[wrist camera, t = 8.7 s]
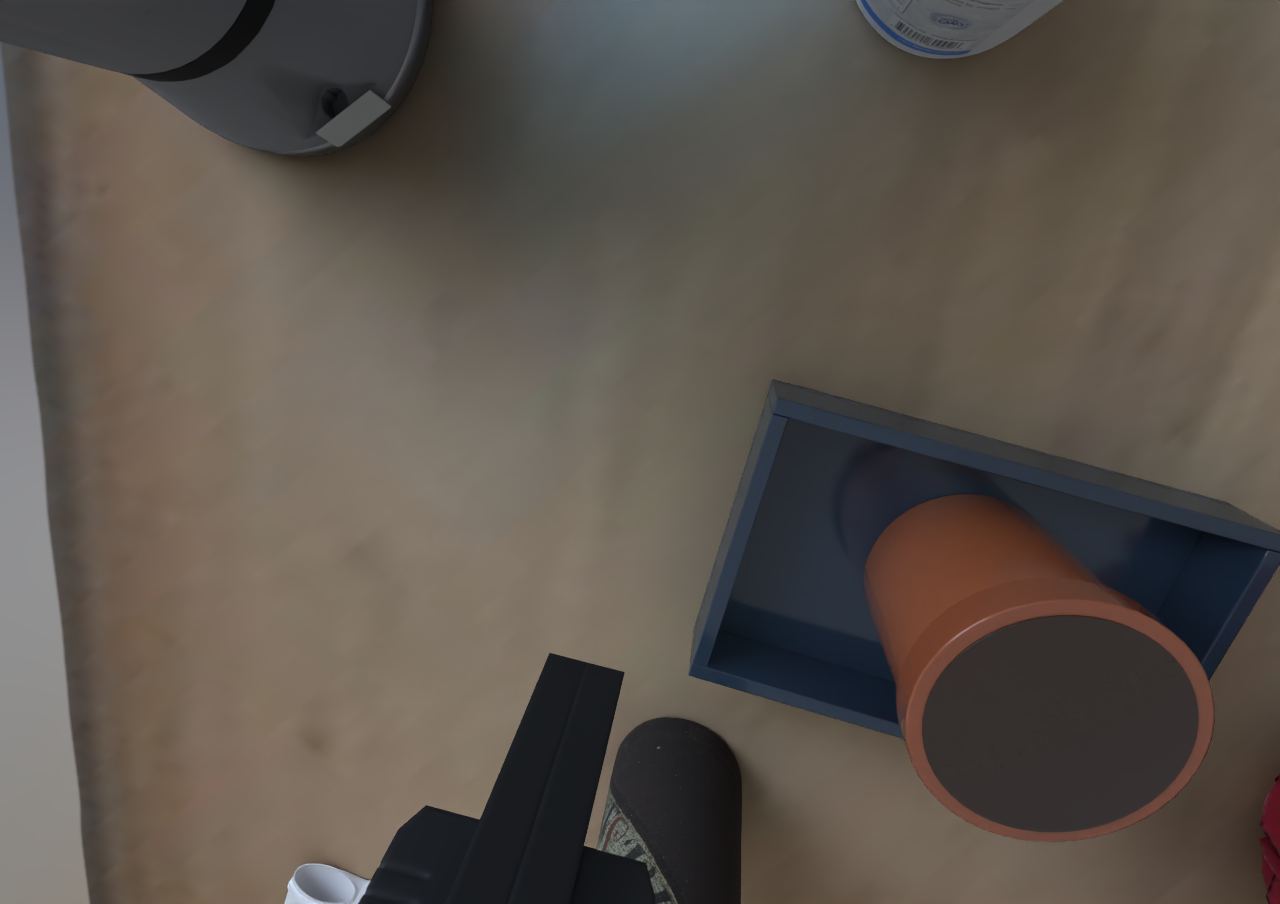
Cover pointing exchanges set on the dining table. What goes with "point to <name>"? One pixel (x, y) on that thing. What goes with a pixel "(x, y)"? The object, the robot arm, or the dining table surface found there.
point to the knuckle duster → (324, 886)
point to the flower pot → (1030, 676)
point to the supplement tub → (951, 23)
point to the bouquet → (1271, 843)
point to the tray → (898, 481)
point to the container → (677, 811)
